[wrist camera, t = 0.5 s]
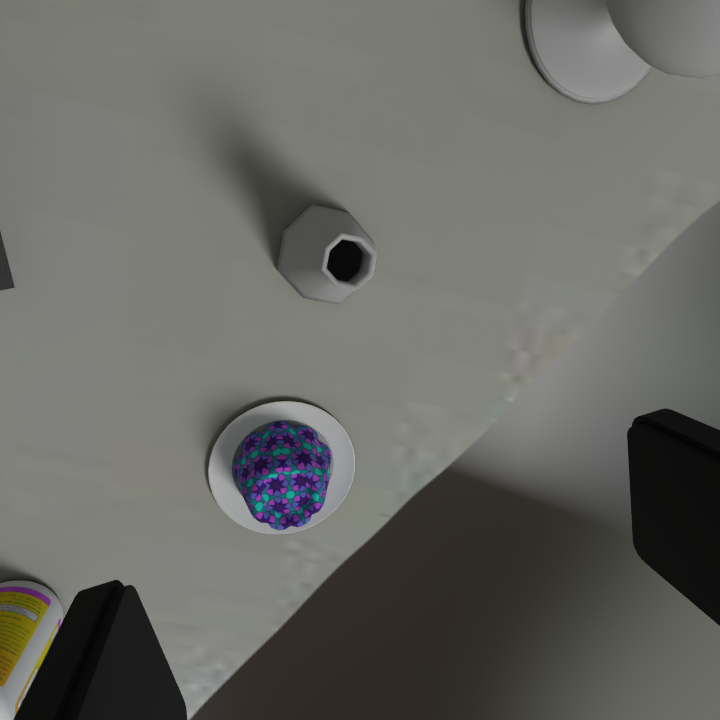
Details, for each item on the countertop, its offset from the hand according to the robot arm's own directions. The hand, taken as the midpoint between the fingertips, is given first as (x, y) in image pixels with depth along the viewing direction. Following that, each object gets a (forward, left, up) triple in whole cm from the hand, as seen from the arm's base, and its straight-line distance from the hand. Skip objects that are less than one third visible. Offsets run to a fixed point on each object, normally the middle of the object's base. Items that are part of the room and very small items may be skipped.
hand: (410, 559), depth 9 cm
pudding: (+13, -2, -30) cm, 33 cm away
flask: (-4, +3, -30) cm, 30 cm away
